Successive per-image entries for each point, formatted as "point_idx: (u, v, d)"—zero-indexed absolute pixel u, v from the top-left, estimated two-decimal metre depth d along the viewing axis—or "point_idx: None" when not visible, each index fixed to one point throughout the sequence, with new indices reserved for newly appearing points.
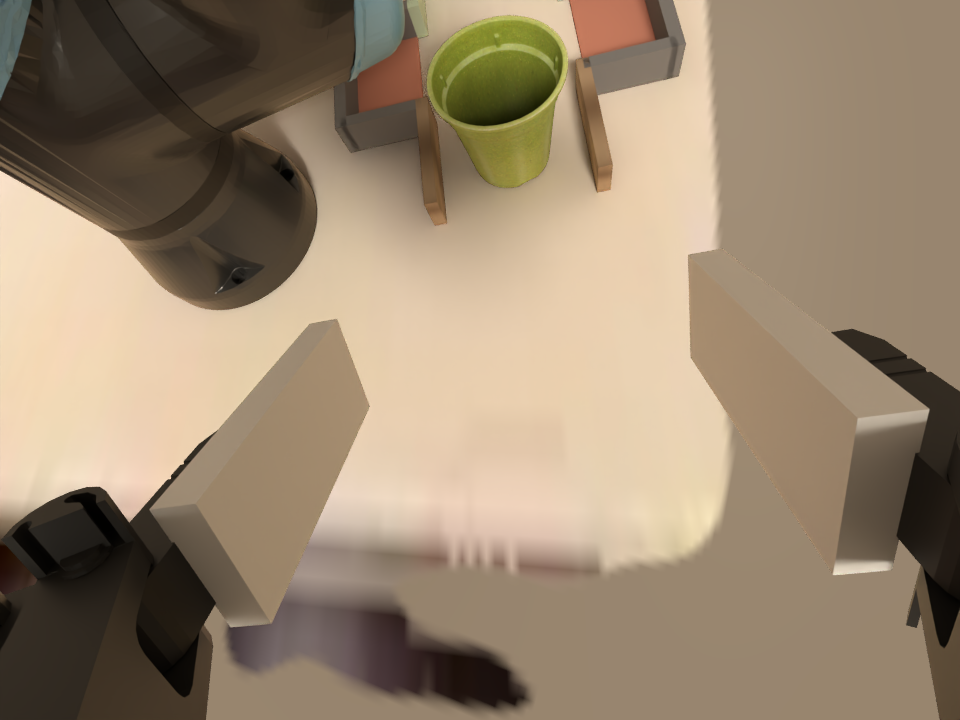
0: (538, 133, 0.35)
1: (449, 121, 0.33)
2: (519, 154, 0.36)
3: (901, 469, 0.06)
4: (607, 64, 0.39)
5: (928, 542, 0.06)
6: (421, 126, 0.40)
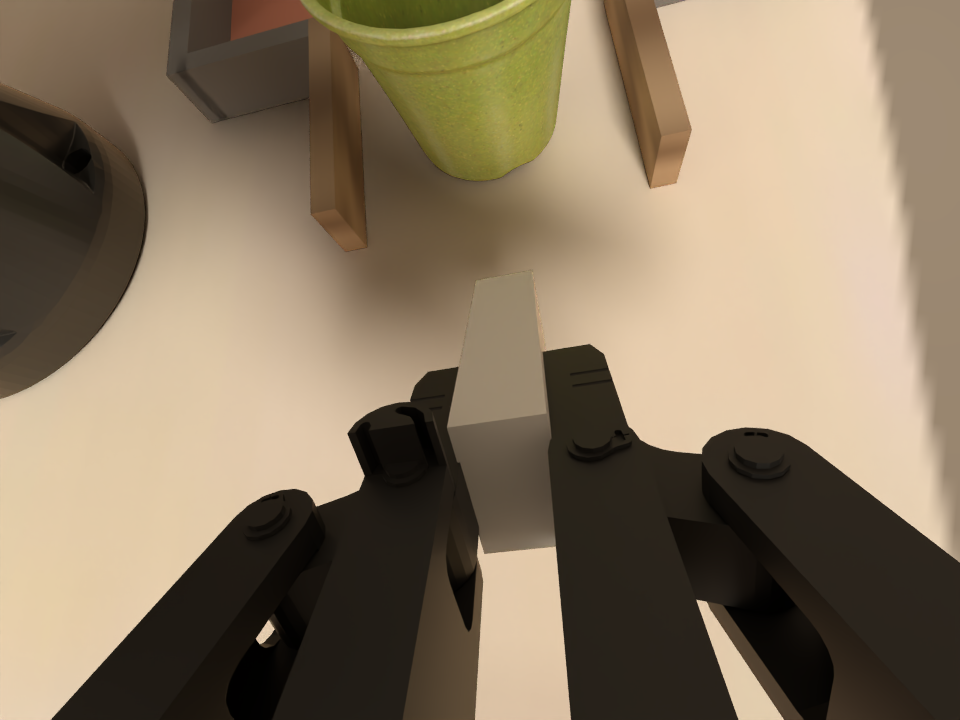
0: (536, 60, 0.16)
1: (327, 22, 0.14)
2: (497, 108, 0.17)
3: (543, 461, 0.08)
4: None
5: None
6: (316, 66, 0.21)
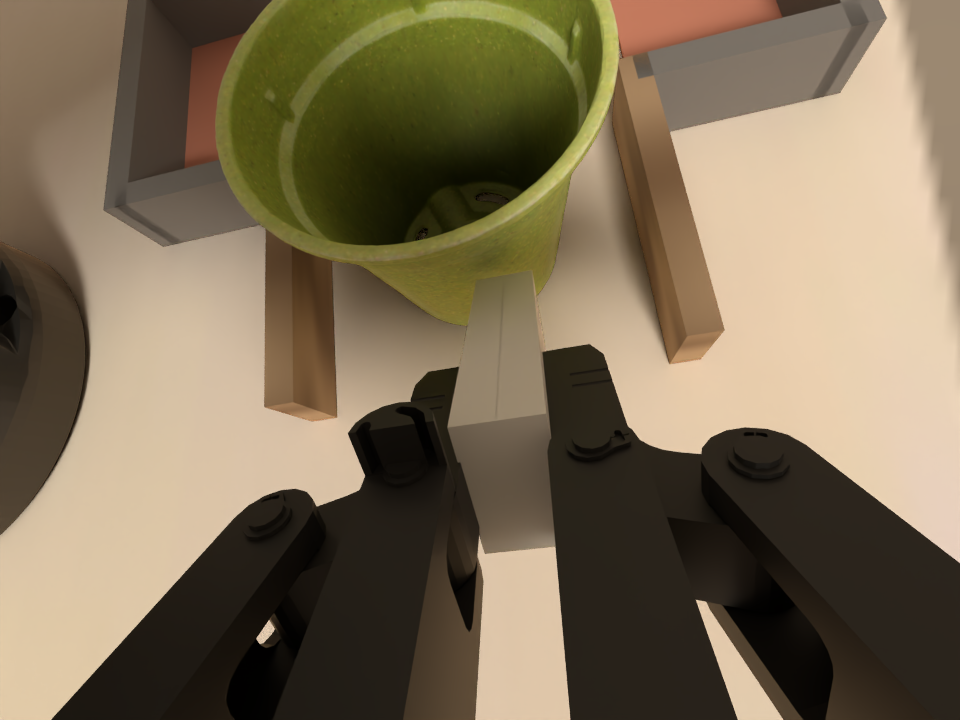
0: (536, 230, 0.13)
1: (270, 231, 0.11)
2: None
3: (543, 461, 0.08)
4: (691, 68, 0.17)
5: None
6: None
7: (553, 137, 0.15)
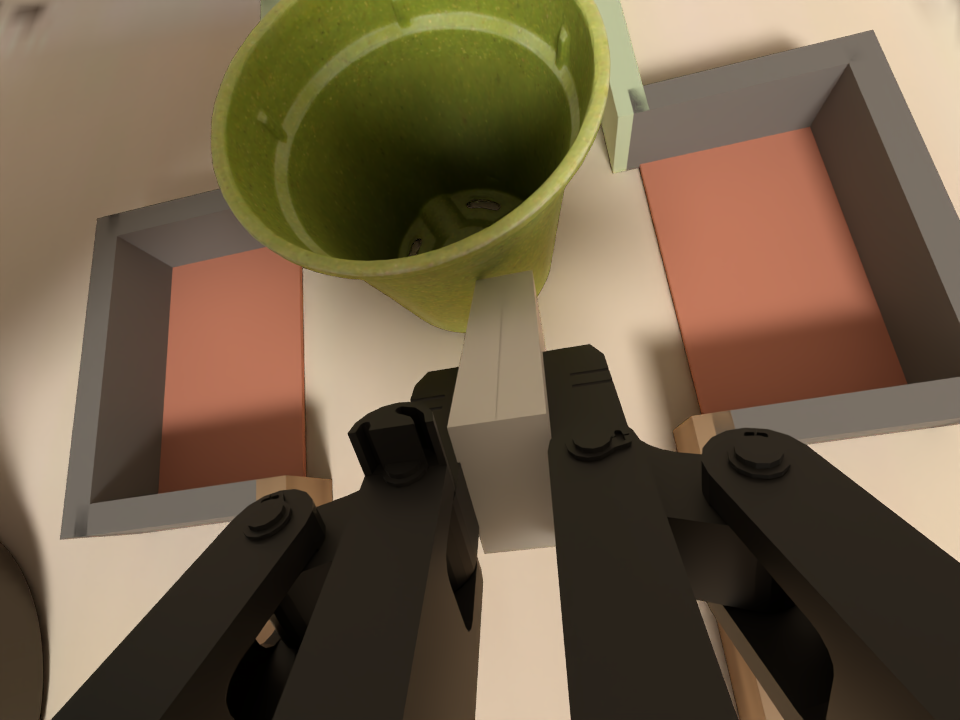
0: (537, 234, 0.13)
1: (276, 252, 0.11)
2: None
3: (543, 461, 0.08)
4: None
5: None
6: None
7: (543, 142, 0.16)
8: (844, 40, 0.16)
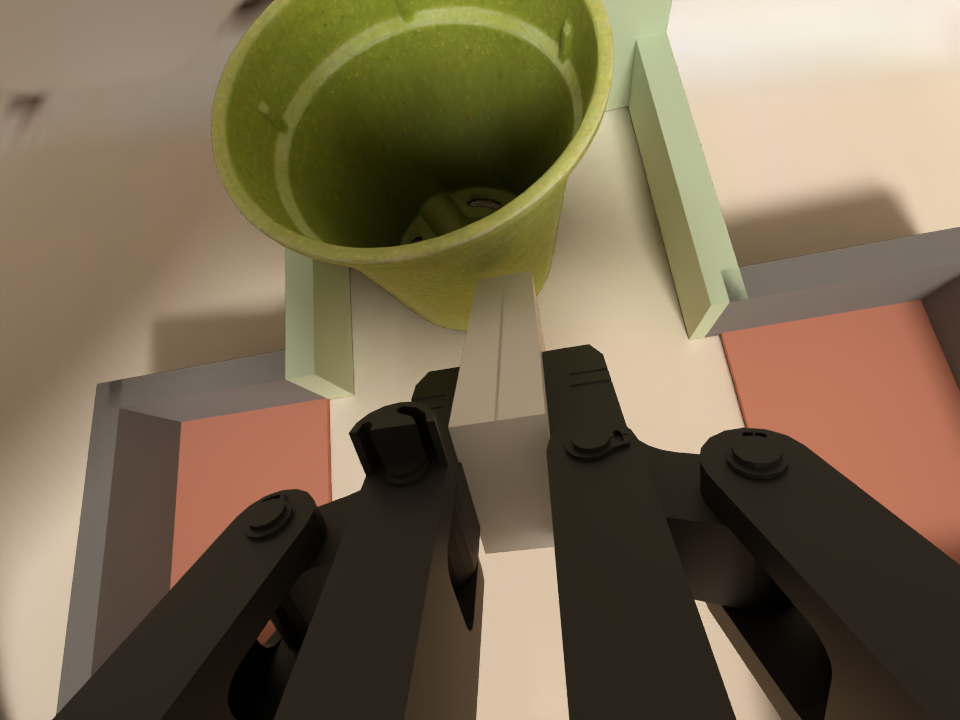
0: (538, 228, 0.13)
1: (275, 239, 0.11)
2: None
3: (542, 461, 0.08)
4: None
5: None
6: None
7: (544, 138, 0.16)
8: None
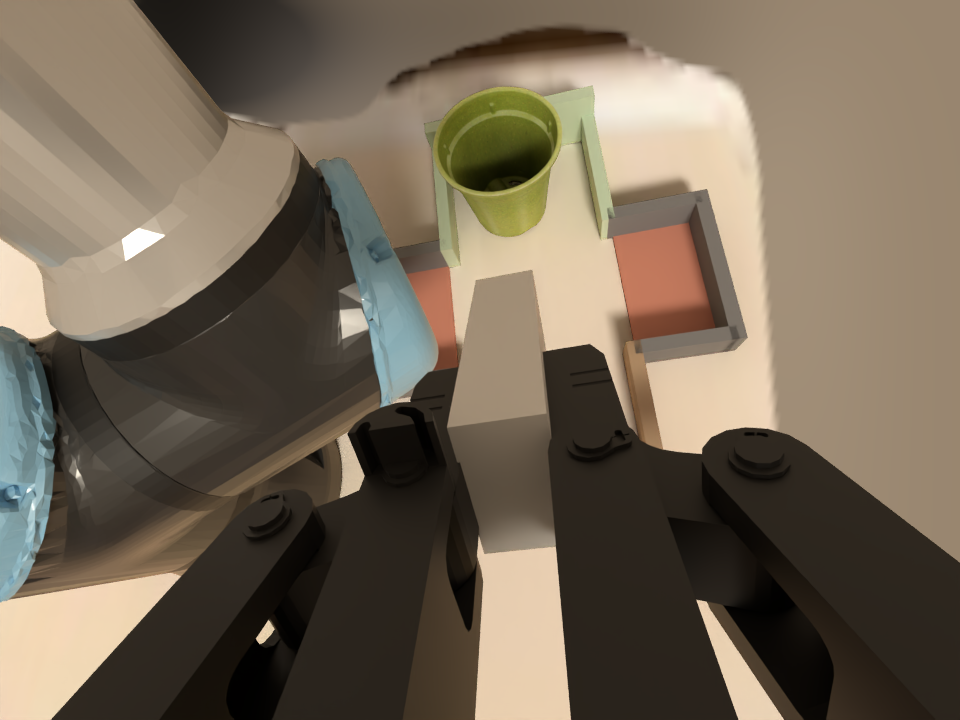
0: (539, 190, 0.38)
1: (459, 189, 0.36)
2: (523, 209, 0.39)
3: (543, 461, 0.08)
4: (660, 350, 0.36)
5: None
6: None
7: (542, 157, 0.41)
8: (695, 193, 0.38)
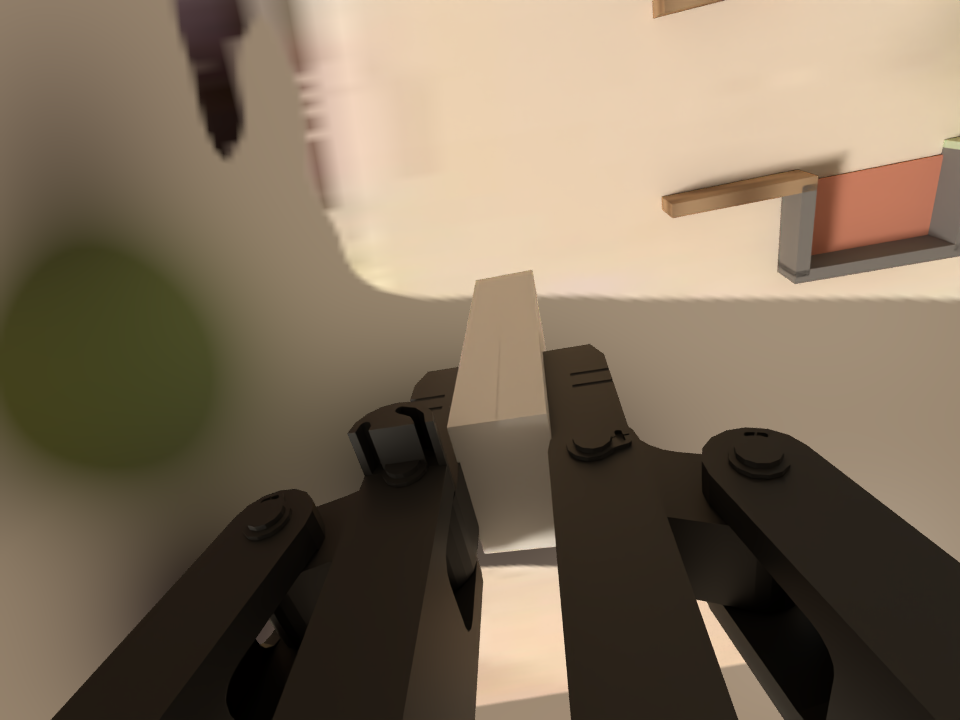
0: None
1: None
2: None
3: (543, 461, 0.08)
4: (799, 209, 0.37)
5: None
6: None
7: None
8: None
